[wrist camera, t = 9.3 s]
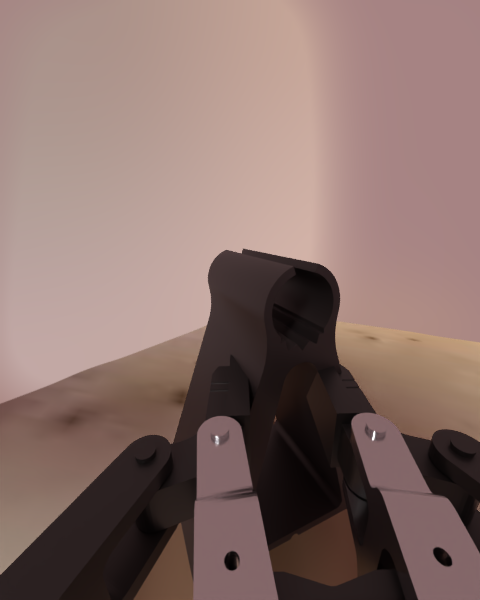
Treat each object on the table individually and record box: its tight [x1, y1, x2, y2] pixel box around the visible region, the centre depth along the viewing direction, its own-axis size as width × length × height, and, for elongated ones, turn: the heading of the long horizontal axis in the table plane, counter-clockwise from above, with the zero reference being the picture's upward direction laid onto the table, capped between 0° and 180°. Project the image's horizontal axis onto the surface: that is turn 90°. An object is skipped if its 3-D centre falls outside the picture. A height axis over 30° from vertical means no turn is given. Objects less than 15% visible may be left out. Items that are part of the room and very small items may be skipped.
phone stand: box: [173, 249, 347, 581], centre depth 13 cm, size 9×6×12 cm, turn 113°
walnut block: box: [134, 422, 358, 600], centre depth 17 cm, size 12×12×6 cm
